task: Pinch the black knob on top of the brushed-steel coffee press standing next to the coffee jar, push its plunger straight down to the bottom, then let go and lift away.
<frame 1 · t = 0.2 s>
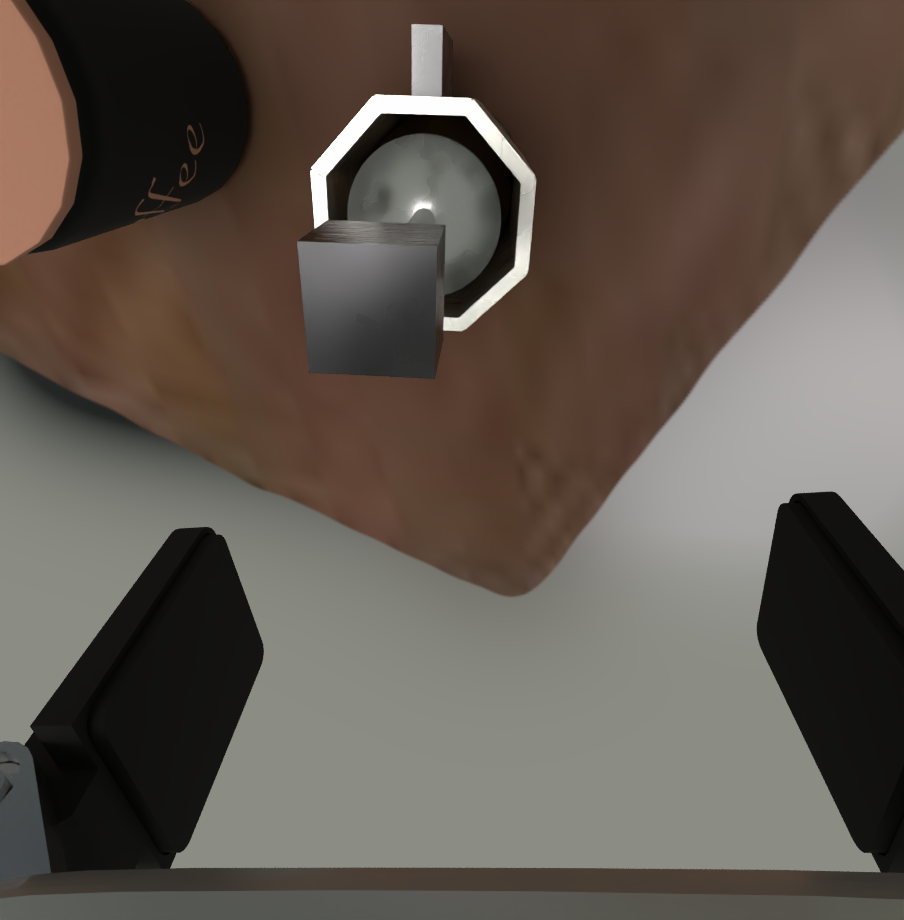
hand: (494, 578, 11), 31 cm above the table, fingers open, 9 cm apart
plunger: (405, 251, 21), point 18 cm above the table, slide at 0.0 cm
press carafe: (442, 188, 37), on the table
coffee jar: (162, 101, 35), on the table
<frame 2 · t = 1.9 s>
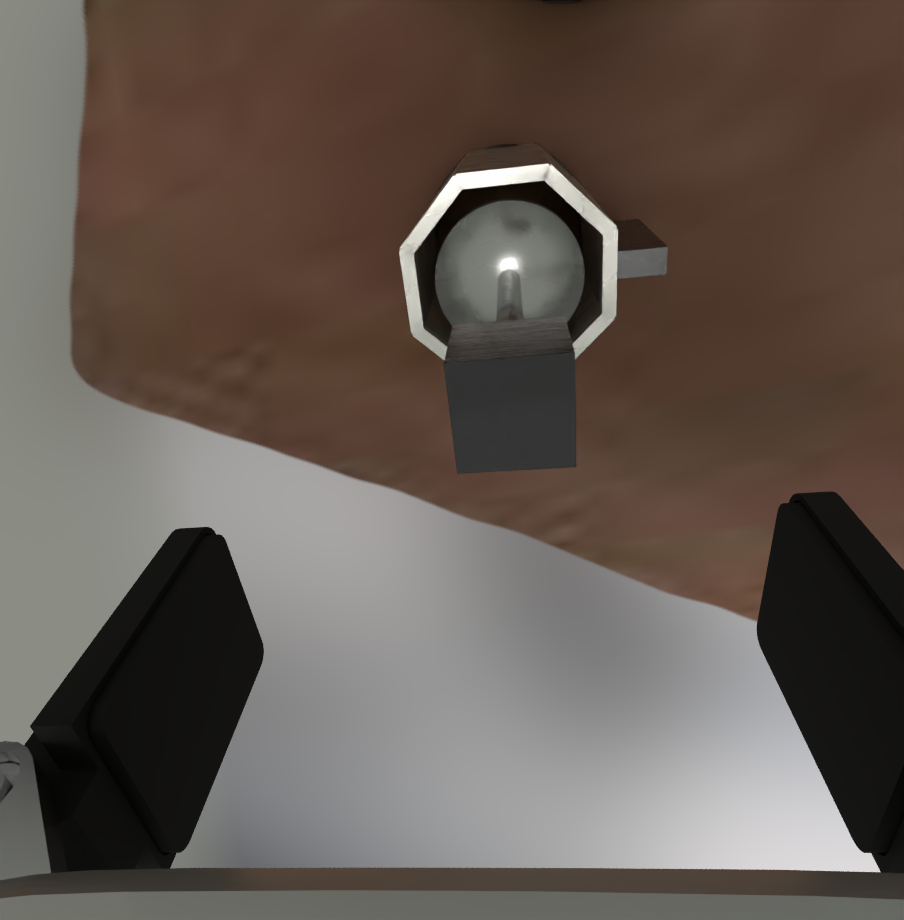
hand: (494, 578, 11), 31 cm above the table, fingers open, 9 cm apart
plunger: (510, 327, 22), point 18 cm above the table, slide at 0.0 cm
press carafe: (507, 231, 38), on the table
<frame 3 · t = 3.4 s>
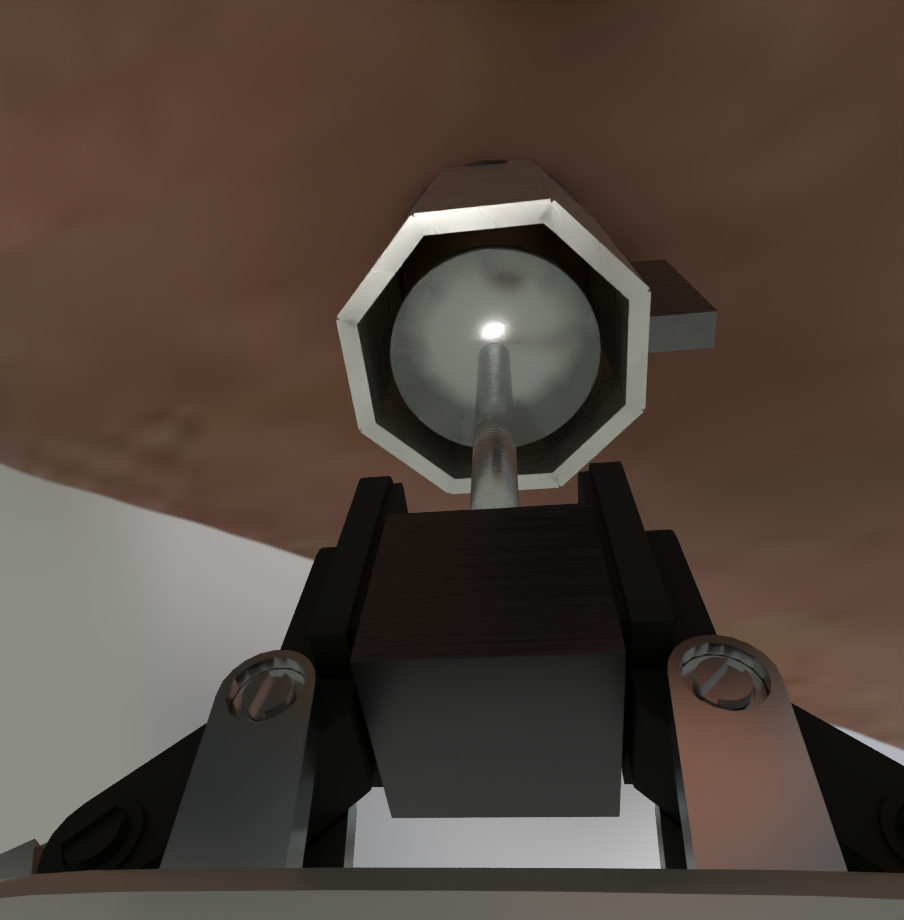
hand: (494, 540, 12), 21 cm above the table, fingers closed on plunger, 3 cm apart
plunger: (494, 460, 14), point 18 cm above the table, slide at 0.0 cm, touching gripper
press carafe: (493, 270, 30), on the table
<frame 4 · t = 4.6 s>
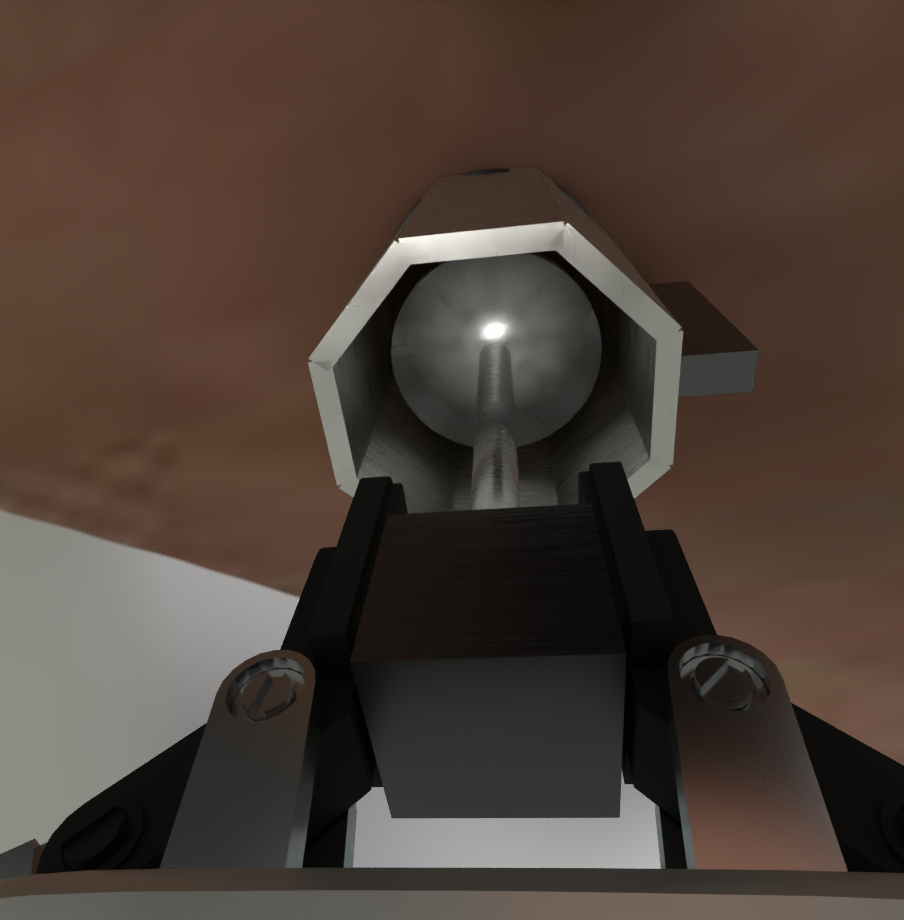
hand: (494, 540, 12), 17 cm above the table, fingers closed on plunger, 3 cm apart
plunger: (495, 461, 14), point 14 cm above the table, slide at 3.4 cm, touching gripper
press carafe: (495, 289, 27), on the table
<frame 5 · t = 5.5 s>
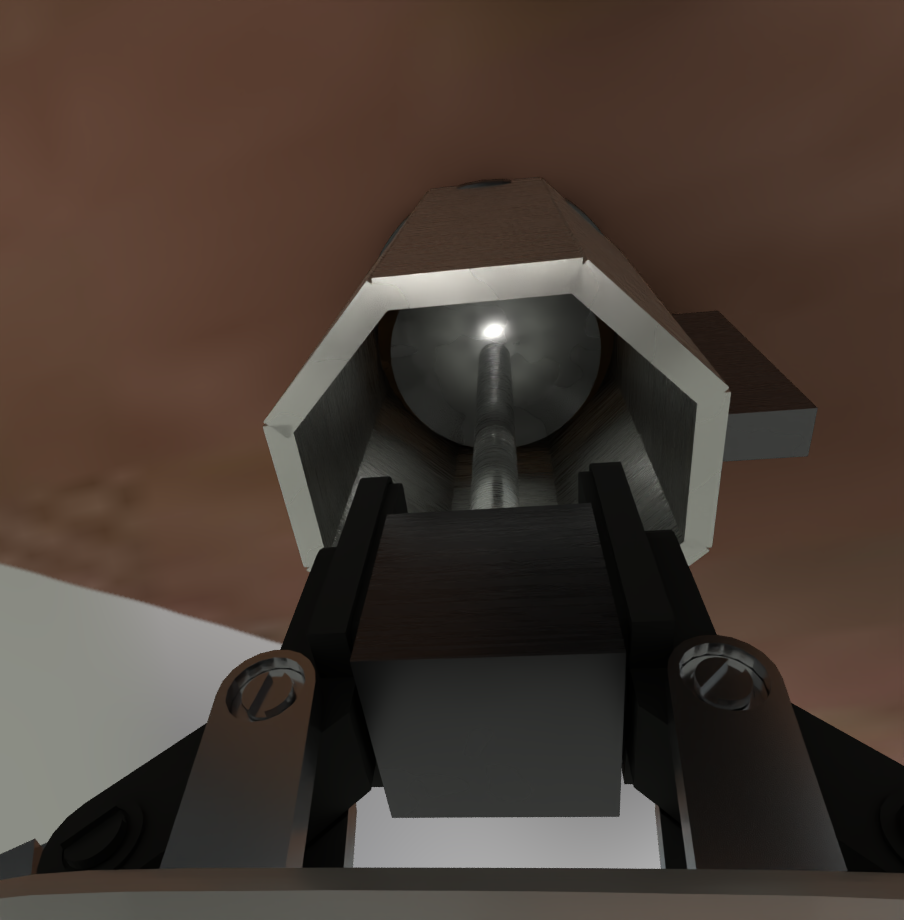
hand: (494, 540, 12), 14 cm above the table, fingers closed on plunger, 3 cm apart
plunger: (494, 460, 14), point 11 cm above the table, slide at 7.0 cm, touching gripper
press carafe: (494, 315, 24), on the table
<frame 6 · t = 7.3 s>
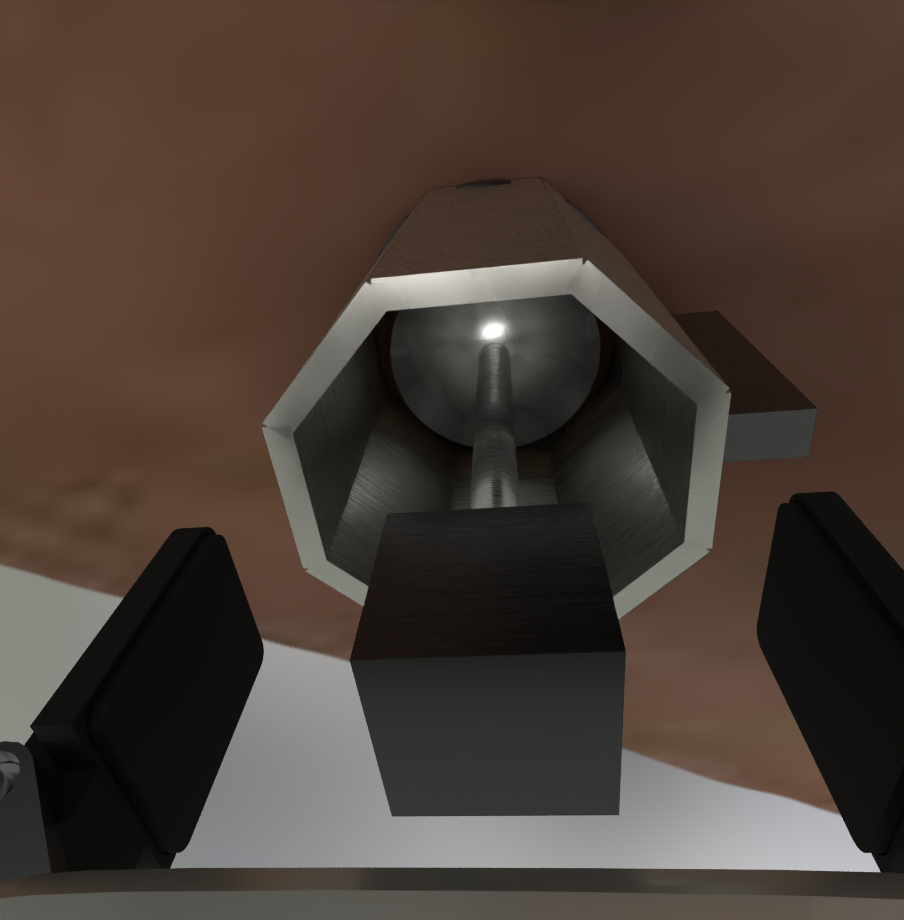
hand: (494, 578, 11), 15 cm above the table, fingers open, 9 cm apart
plunger: (494, 460, 14), point 11 cm above the table, slide at 7.0 cm
press carafe: (494, 315, 24), on the table
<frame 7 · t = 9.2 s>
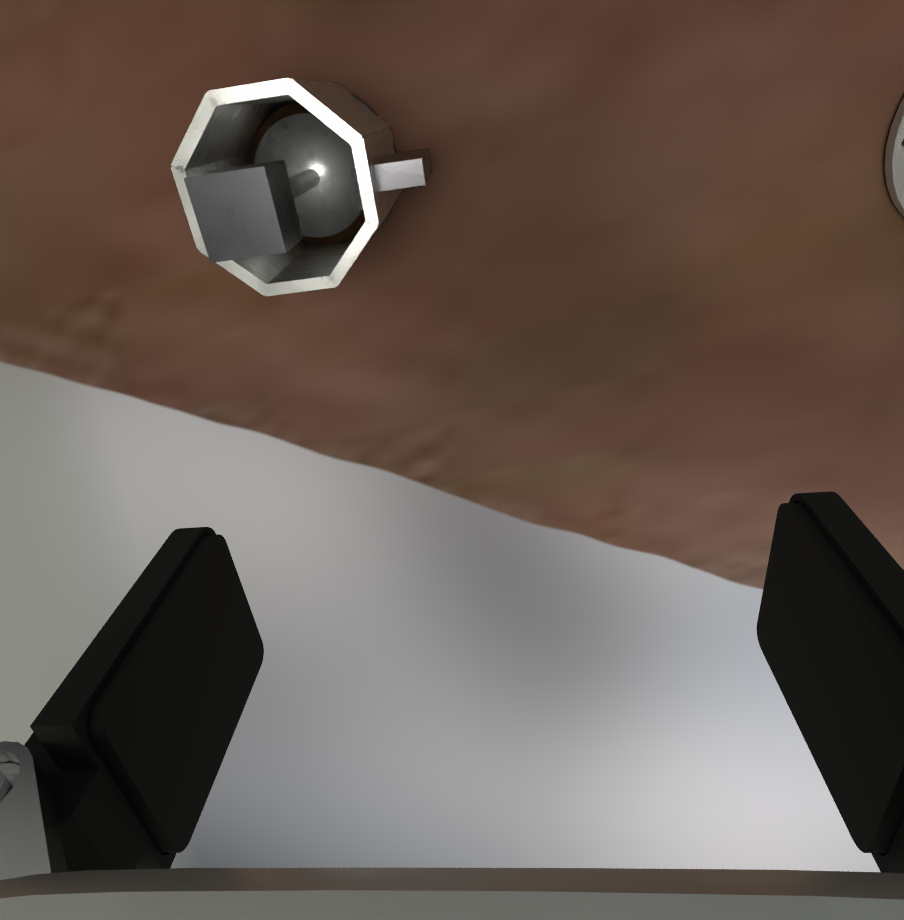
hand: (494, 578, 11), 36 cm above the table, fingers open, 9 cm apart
plunger: (283, 192, 31), point 11 cm above the table, slide at 7.0 cm
press carafe: (326, 170, 40), on the table
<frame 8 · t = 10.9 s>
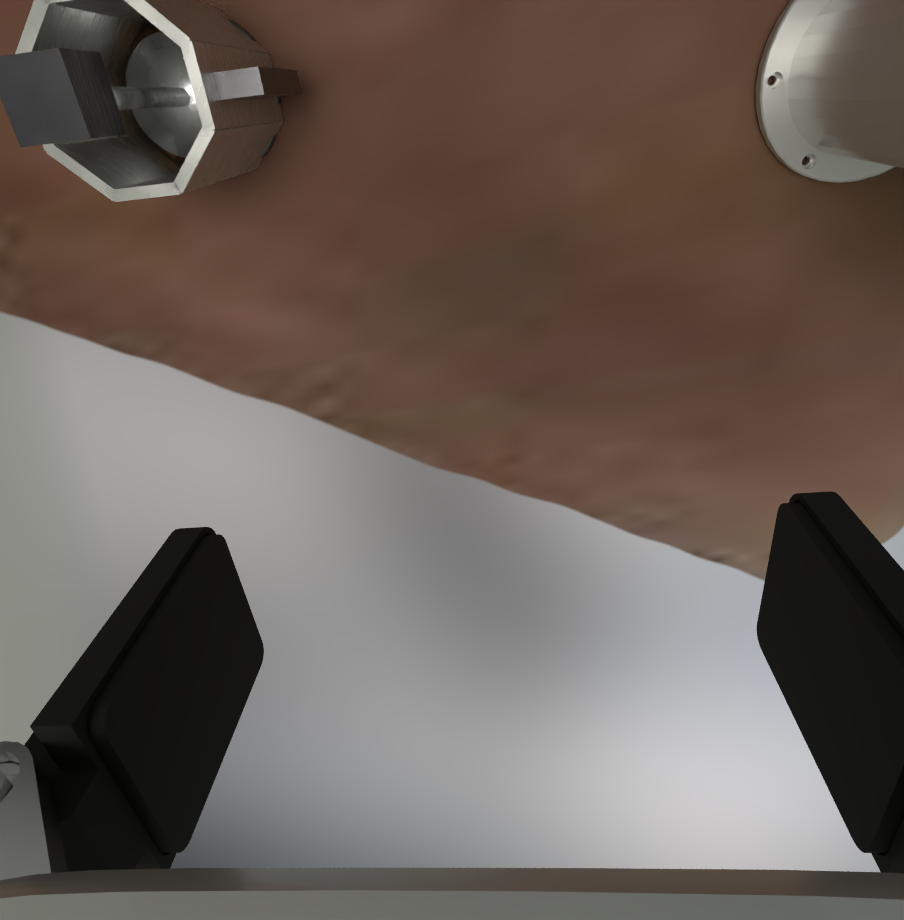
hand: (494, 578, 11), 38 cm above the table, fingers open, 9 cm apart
plunger: (127, 98, 32), point 11 cm above the table, slide at 7.0 cm
press carafe: (210, 96, 41), on the table
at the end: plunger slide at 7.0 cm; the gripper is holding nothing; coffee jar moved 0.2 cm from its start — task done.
